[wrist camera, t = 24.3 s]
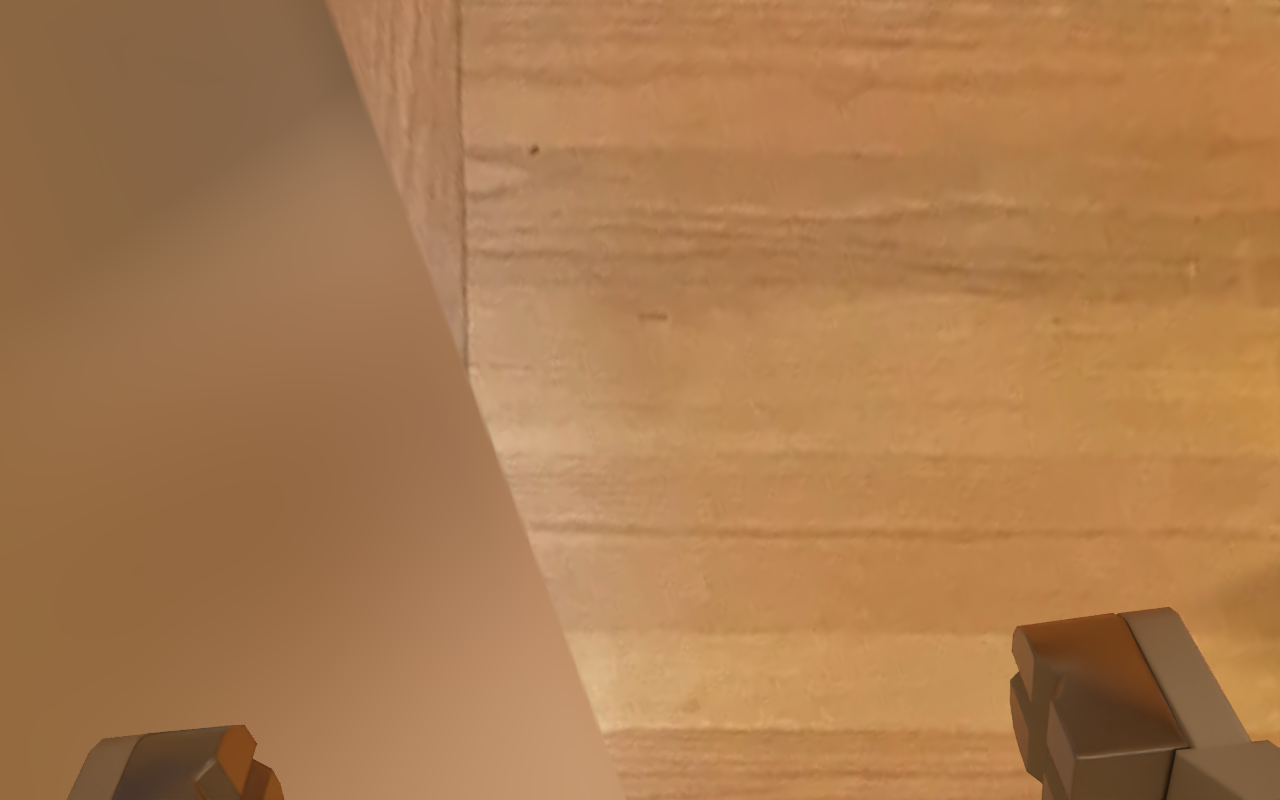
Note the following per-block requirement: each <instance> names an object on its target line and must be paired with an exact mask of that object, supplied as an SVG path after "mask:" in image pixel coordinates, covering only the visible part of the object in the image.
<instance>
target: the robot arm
mask: <svg viewBox="0 0 1280 800" xmlns="http://www.w3.org/2000/svg"><path fill="white" fill-rule="evenodd" d="M1012 653H1013V656H1014V658H1015V661H1016V664H1017V666H1018V669H1019V672H1018V673H1017V674H1016V675H1015V676H1014V677H1013V678H1012V679H1011V680H1010V706H1011V713H1012V720H1013V728H1014V732H1015V735H1016V739H1017V743H1018V747H1019V750H1020V753H1021V756H1022V759H1023V762H1024V765H1025V768H1026V771H1027V772H1028V773H1030V774H1031V775H1032V776H1033V777H1035V778H1036V779H1037V780H1038V781H1040V782H1041V783H1042V784H1043V788H1042V800H1280V748H1279V747H1277V746H1276V745H1274V744H1273V743H1271V742H1270V741H1268V740H1267V741H1254V742H1252V741H1251V739H1250V737H1249V736H1248V734H1247V732H1246V731H1245V729H1244V727H1243V725H1242V724H1241V722H1240V720H1239V718H1238V717H1237V715H1236V713H1235V711H1234V710H1233V708H1232V706H1231V704H1230V703H1229V701H1228V699H1227V697H1226V696H1225V694H1224V692H1223V690H1222V689H1221V687H1220V685H1219V683H1218V682H1217V680H1216V678H1215V676H1214V675H1213V673H1212V671H1211V669H1210V668H1209V666H1208V664H1207V663H1206V661H1205V659H1204V657H1203V656H1202V654H1201V652H1200V650H1199V649H1198V647H1197V645H1196V643H1195V642H1194V640H1193V638H1192V636H1191V635H1190V633H1189V631H1188V629H1187V628H1186V626H1185V624H1184V622H1183V621H1182V619H1181V617H1180V615H1179V614H1178V613H1177V612H1175V611H1174V610H1173V609H1171V608H1170V607H1165V608H1157V609H1149V610H1141V611H1133V612H1125V613H1118V614H1114V613H1109V614H1102V615H1095V616H1088V617H1080V618H1073V619H1066V620H1058V621H1051V622H1044V623H1037V624H1029V625H1022V626H1017V627H1016V629H1015V631H1014V633H1013V642H1012ZM256 745H257V743H256V741H255V740H254V738H253V737H252V735H251V734H250V732H249V731H248V730H247V728H246V726H245V725H231V726H221V727H211V728H200V729H191V730H179V731H169V732H160V733H148V734H141V735H133V736H123V737H114V738H105V739H102V740H101V741H100V742H99V743H98V744H97V745H96V746H95V747H94V748H93V749H92V750H91V751H90V752H89V754H88V756H87V758H86V760H85V762H84V764H83V766H82V769H81V771H80V773H79V775H78V777H77V779H76V781H75V784H74V786H73V788H72V790H71V792H70V794H69V797H68V799H67V800H284V796H283V793H282V788H281V785H280V782H279V780H278V779H277V777H276V775H275V773H274V771H273V770H272V769H271V768H269V767H267V766H265V765H264V764H262V763H260V762H258V761H256V760H254V759H253V755H254V752H255V748H256Z"/></svg>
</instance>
